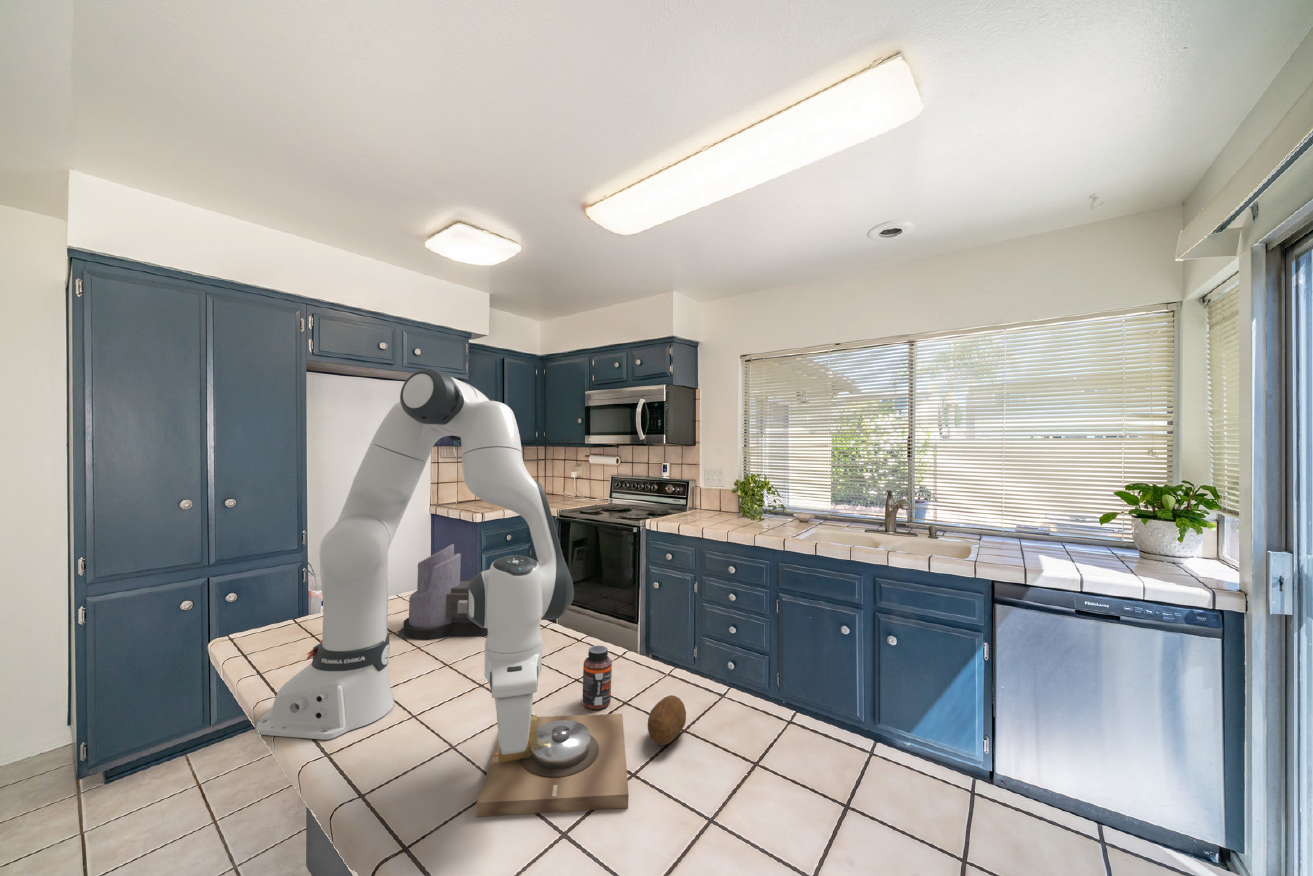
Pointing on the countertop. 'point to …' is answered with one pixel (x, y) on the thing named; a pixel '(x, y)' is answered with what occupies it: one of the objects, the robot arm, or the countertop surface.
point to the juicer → (440, 601)
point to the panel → (562, 776)
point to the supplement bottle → (597, 678)
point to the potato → (666, 720)
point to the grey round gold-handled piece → (554, 744)
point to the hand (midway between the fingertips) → (512, 749)
